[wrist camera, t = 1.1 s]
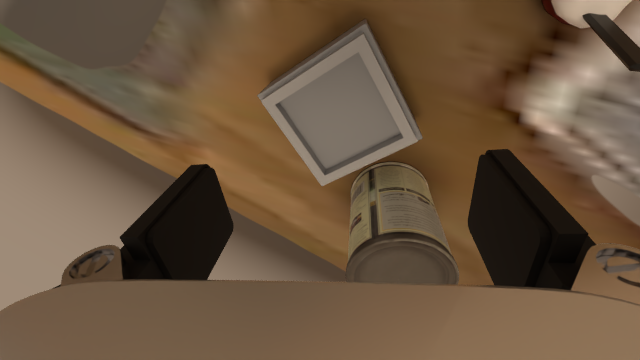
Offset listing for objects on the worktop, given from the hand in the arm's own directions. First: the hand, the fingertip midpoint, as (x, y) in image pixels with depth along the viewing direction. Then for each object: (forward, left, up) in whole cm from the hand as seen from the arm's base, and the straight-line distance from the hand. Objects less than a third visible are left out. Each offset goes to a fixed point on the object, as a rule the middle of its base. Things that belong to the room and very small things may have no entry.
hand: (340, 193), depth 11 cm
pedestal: (+3, +3, -24) cm, 25 cm away
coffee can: (+4, +17, -25) cm, 30 cm away
